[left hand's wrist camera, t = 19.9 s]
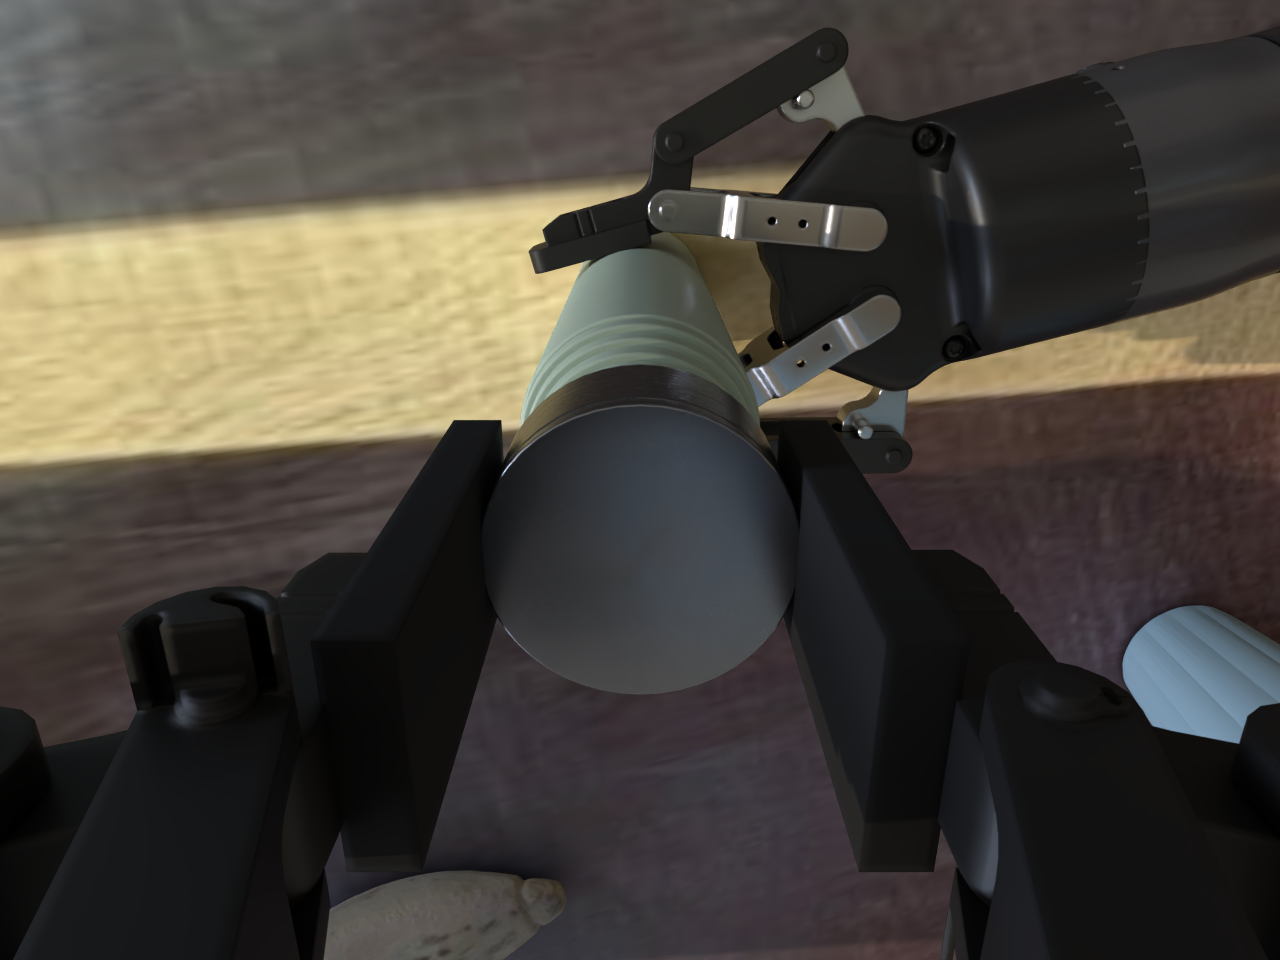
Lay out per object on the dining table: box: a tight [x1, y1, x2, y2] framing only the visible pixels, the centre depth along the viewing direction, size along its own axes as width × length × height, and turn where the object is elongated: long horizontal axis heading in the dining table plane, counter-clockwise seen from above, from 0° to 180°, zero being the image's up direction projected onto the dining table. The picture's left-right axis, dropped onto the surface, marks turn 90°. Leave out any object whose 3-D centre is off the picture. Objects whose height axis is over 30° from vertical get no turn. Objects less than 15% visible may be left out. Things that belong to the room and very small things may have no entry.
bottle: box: [521, 232, 760, 426], centre depth 23 cm, size 5×5×23 cm
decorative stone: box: [324, 870, 567, 960], centre depth 44 cm, size 6×16×3 cm, turn 111°
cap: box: [481, 365, 800, 695], centre depth 13 cm, size 5×5×2 cm
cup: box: [1123, 606, 1280, 744], centre depth 35 cm, size 8×8×10 cm
